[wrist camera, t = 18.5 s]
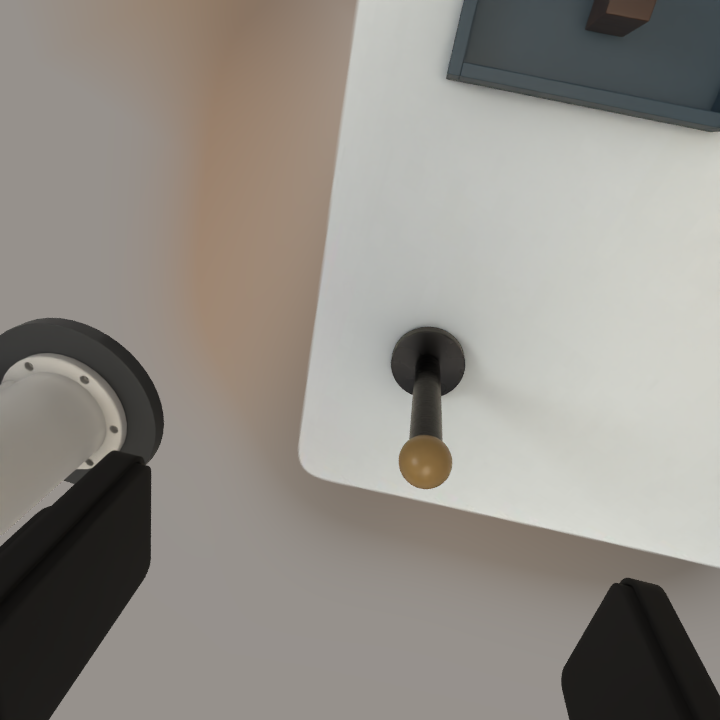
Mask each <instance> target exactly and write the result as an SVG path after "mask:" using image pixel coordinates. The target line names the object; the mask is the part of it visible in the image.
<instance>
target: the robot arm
mask: <svg viewBox="0 0 720 720" xmlns="http://www.w3.org/2000/svg"><path fill="white" fill-rule="evenodd" d="M126 434H127V421H126V416H125V412H124V409H123V406H122V404H121V402H120V400H119V398H118V396H117V395H116V393H115V391H114V390H113V389H112V388H111V386H110V385H109V384H108V383H107V381H106V380H105V379H103V378H102V377H101V376H100V375H99V374H98V373H97V372H96V371H94V370H93V369H91V368H90V367H89V366H87V365H86V364H84V363H82V362H80V361H78V360H76V359H74V358H70V357H67V356H64V355H60V354H54V353H39V354H35V355H31V356H28V357H26V358H24V359H22V360H20V361H18V362H17V363H15V364H14V365H13V366H11V367H10V368H9V370H8V371H7V372H6V374H5V375H4V378H3V380H2V383H1V385H0V536H2V535H3V534H4V533H5V532H6V531H7V530H8V529H9V528H11V526H13V525H14V524H15V523H16V522H17V521H18V520H20V519H21V518H22V517H23V516H24V515H25V514H26V513H27V512H29V511H30V510H31V509H32V508H33V507H34V506H35V505H36V504H37V503H39V502H40V501H41V500H42V499H43V498H44V497H45V496H47V495H48V494H49V493H50V492H51V491H52V490H53V489H54V488H55V487H56V486H58V485H59V484H60V483H61V482H62V481H63V480H65V479H66V478H67V477H68V476H69V475H70V474H71V473H72V472H73V471H75V470H76V469H90V468H92V469H91V470H90V471H88V472H87V473H86V474H85V475H84V476H83V477H82V478H81V479H80V480H79V481H78V482H77V483H76V484H74V485H73V486H72V487H71V488H70V489H69V490H68V491H67V492H66V493H65V494H64V495H63V496H62V497H60V498H59V499H58V500H57V501H56V502H55V503H54V504H53V505H52V506H49V507H47V508H44V509H42V510H41V511H40V512H38V513H37V514H36V515H34V516H33V517H32V518H31V519H30V520H29V521H28V522H27V523H26V524H24V525H23V526H22V527H21V528H20V529H19V530H18V531H17V532H16V533H15V534H14V535H12V536H11V537H10V538H9V539H8V540H7V541H6V542H5V543H4V544H3V545H2V546H0V720H49V719H50V717H51V716H52V714H53V713H54V711H55V710H56V708H57V707H58V705H59V704H60V702H61V701H62V699H63V698H64V696H65V695H66V693H67V692H68V691H69V689H70V688H71V686H72V685H73V683H74V682H75V680H76V679H77V677H78V676H79V674H80V673H81V671H82V670H83V668H84V667H85V665H86V664H87V663H88V661H89V659H90V658H91V656H92V655H93V654H94V652H95V651H96V649H97V648H98V646H99V645H100V643H101V642H102V640H103V639H104V637H105V636H106V634H107V633H108V631H109V630H110V628H111V626H112V625H113V624H114V623H115V621H116V619H117V618H118V616H119V615H120V614H121V612H122V610H123V609H124V608H125V606H126V605H127V603H128V602H129V600H130V599H131V597H132V596H133V594H134V593H135V591H136V590H137V589H138V587H139V586H140V584H141V583H142V581H143V580H144V578H145V576H146V574H147V572H148V569H149V566H150V560H151V468H150V467H149V466H146V465H145V462H144V459H143V457H141V456H137V455H133V454H129V453H125V452H121V451H120V449H121V447H122V446H123V444H124V442H125V438H126ZM561 682H562V690H563V695H564V699H565V703H566V707H567V712H568V716H569V720H720V695H719V694H718V692H717V690H716V688H715V686H714V684H713V682H712V681H711V678H710V677H709V675H708V673H707V671H706V669H705V667H704V665H703V663H702V661H701V660H700V657H699V656H698V654H697V652H696V650H695V648H694V646H693V644H692V642H691V641H690V639H689V637H688V635H687V633H686V631H685V629H684V627H683V625H682V623H681V622H680V620H679V618H678V616H677V614H676V612H675V610H674V609H673V606H672V604H671V602H670V601H669V599H668V597H667V595H666V593H665V592H664V590H663V589H662V588H661V587H660V586H658V585H655V584H651V583H647V582H643V581H639V580H635V579H631V578H625V579H623V580H622V581H621V582H620V583H619V584H618V583H614V584H613V585H612V586H611V587H610V589H609V591H608V592H607V594H606V596H605V597H604V600H603V601H602V603H601V605H600V606H599V608H598V609H597V611H596V613H595V615H594V616H593V618H592V620H591V622H590V623H589V625H588V627H587V628H586V630H585V632H584V634H583V635H582V637H581V639H580V640H579V642H578V644H577V646H576V647H575V649H574V651H573V652H572V654H571V656H570V658H569V659H568V661H567V663H566V665H565V666H564V669H563V672H562V678H561Z"/></svg>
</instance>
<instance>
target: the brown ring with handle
mask: <svg viewBox="0 0 720 720" xmlns="http://www.w3.org/2000/svg"><path fill="white" fill-rule="evenodd" d="M656 2H657V0H594V3H593V6H592V9H591V12H590V15H589V18H588V21H587V24H586V27H585V30H588V31H593V32H599V33H604V34H609V35H614V36H619V37H624V36H625V35H627V34H629V33H630V32H632V31H634V30H635V29H637V28H639V27H640V26H642V25H644V24H645V23H647V22H649V20H650V18H651V15H652V12H653V10H654V7H655V4H656Z"/></svg>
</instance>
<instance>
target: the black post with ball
mask: <svg viewBox="0 0 720 720" xmlns="http://www.w3.org/2000/svg"><path fill="white" fill-rule="evenodd" d="M391 369H392V373H393V376H394V378H395V380H396V382H397V383H398V384H399V386H400V387H401V388H402V389H404V390H405V391H406V392H408V393H410V394H412V395H413V400H412V412H411V424H410V436H409V440H408V441H407V442H406V443H405V444H404V446H403V447H402V449H401V451H400V455H399V468H400V471H401V473H402V475H403V477H404V478H405V479H406V480H407V481H408V482H409V483H410V484H411V485H413V486H415V487H417V488H421V489H431V488H435V487H437V486H439V485H441V484H442V483H443V482H444V481H445V480H446V479H447V478H448V476H449V474H450V472H451V468H452V457H451V453H450V451H449V449H448V447H447V446H446V445H445V443H444V442H443V441H442V411H441V396H443V395H445V394H447V393H449V392H450V391H452V390H453V389H454V388H455V387H456V386H457V385H458V384H459V382H460V381H461V379H462V377H463V374H464V370H465V359H464V353H463V350H462V347H461V345H460V343H459V342H458V341H457V339H456V338H455V337H454V336H452V335H451V334H450V333H448V332H446V331H444V330H442V329H439V328H435V327H421V328H417V329H414V330H412V331H410V332H408V333H406V334H405V335H404V336H403V337H402V338H401V339H400V340H399V341H398V342H397V344H396V346H395V348H394V351H393V355H392V360H391Z"/></svg>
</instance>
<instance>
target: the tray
mask: <svg viewBox="0 0 720 720" xmlns="http://www.w3.org/2000/svg"><path fill="white" fill-rule="evenodd" d="M593 3H594V0H464V2H463V7H462V11H461V15H460V20H459V24H458V28H457V33H456V37H455V41H454V46H453V50H452V54H451V59H450V63H449V67H448V72H447V77H446V79H450V80H455V81H460V82H465V83H470V84H475V85H480V86H485V87H490V88H494V89H499V90H504V91H509V92H514V93H519V94H524V95H529V96H534V97H539V98H544V99H549V100H554V101H559V102H564V103H569V104H574V105H579V106H584V107H589V108H594V109H599V110H604V111H609V112H614V113H619V114H624V115H629V116H634V117H639V118H644V119H649V120H654V121H658V122H663V123H668V124H673V125H678V126H683V127H688V128H693V129H698V130H703V131H708V132H719V131H720V0H657V2H656V4H655V7H654V10H653V12H652V15H651V18H650V20H649V22H647V23H645V24H644V25H642V26H640V27H639V28H637V29H635V30H634V31H632V32H630V33H629V34H627V35H625V36H624V37H619V36H614V35H609V34H604V33H599V32H593V31H588V30H585V27H586V24H587V21H588V18H589V15H590V12H591V9H592V6H593Z"/></svg>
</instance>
